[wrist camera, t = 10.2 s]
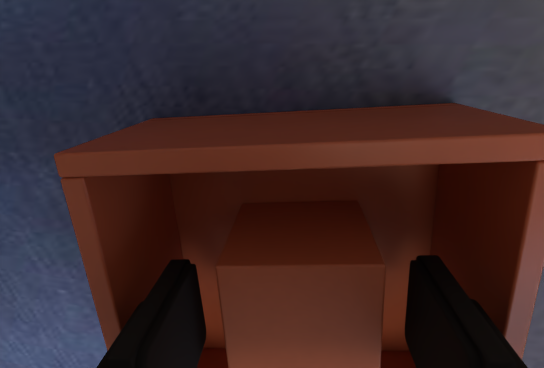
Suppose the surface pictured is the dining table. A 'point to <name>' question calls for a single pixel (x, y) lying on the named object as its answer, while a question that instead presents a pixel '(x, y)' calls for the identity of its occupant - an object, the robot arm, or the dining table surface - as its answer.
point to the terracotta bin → (310, 188)
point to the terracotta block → (301, 287)
